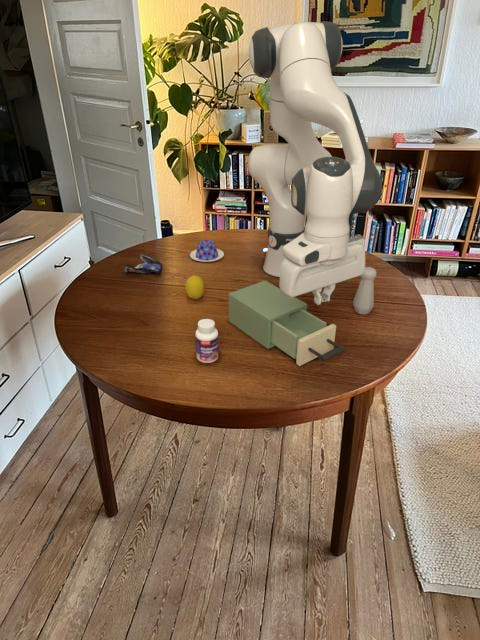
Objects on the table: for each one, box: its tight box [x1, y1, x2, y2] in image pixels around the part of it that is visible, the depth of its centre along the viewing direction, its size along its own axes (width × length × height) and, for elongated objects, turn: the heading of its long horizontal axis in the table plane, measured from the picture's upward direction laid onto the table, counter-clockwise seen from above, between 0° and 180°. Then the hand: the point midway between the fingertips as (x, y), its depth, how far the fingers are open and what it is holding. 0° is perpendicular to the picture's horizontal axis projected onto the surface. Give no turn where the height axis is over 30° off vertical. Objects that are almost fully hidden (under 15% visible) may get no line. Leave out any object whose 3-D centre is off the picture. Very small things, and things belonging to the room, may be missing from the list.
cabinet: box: [227, 280, 308, 350], centre depth 122 cm, size 17×13×9 cm
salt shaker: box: [352, 266, 378, 315], centre depth 128 cm, size 6×6×13 cm
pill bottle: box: [194, 318, 220, 364], centre depth 110 cm, size 5×5×10 cm
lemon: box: [184, 274, 205, 301], centre depth 135 cm, size 6×6×8 cm
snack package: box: [123, 254, 163, 276], centre depth 152 cm, size 12×6×12 cm
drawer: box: [270, 309, 347, 367], centre depth 112 cm, size 21×11×7 cm, turn 37°
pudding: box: [189, 239, 225, 263], centre depth 162 cm, size 12×12×5 cm
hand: (321, 302), depth 101 cm, fingers closed
